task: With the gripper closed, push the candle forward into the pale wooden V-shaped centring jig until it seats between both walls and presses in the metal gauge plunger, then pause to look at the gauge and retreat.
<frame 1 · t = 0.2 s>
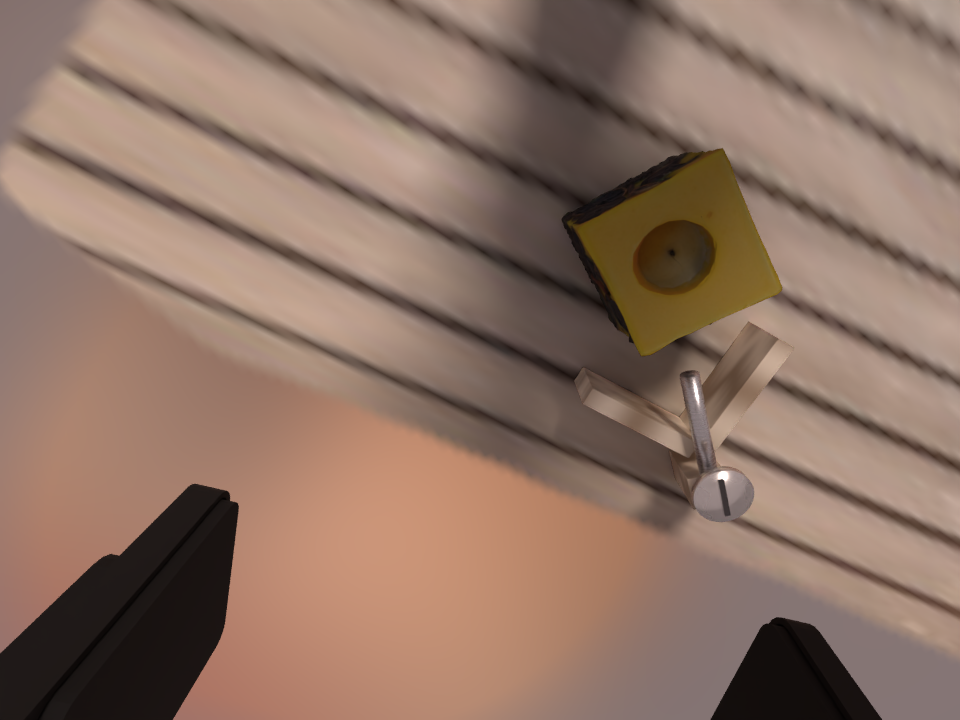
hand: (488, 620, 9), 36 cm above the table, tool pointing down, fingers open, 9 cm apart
centring jig: (679, 417, 47), on the table
candle: (642, 242, 43), on the table
gauge plunger: (707, 446, 40), point 7 cm above the table, slide at 0.0 cm
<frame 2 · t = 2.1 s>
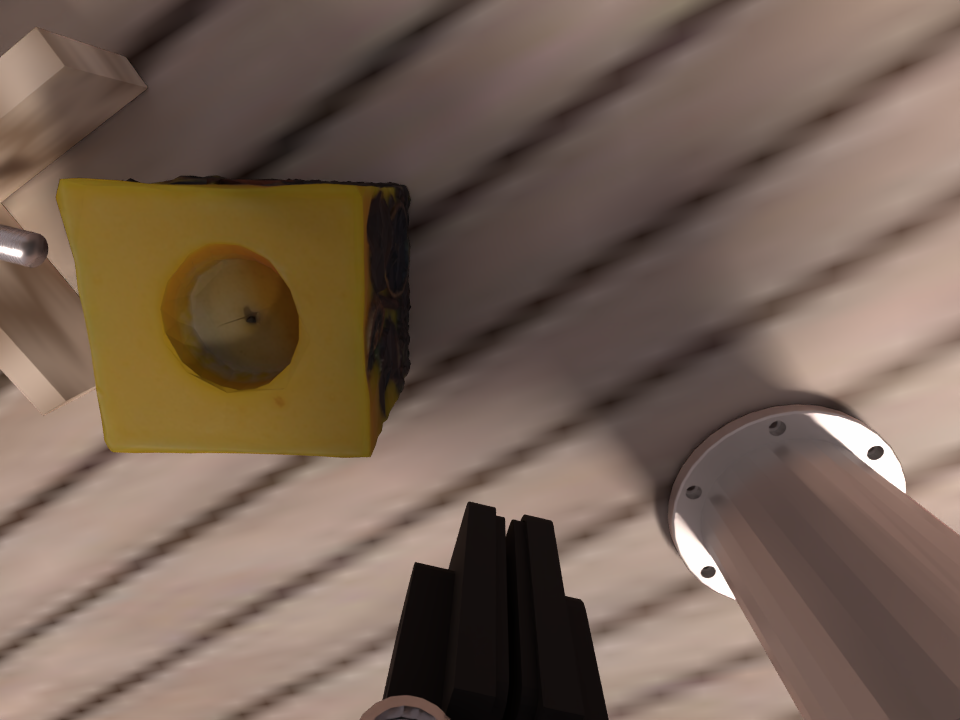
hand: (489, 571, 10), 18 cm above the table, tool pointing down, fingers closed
centring jig: (0, 202, 27), on the table
candle: (316, 280, 28), on the table
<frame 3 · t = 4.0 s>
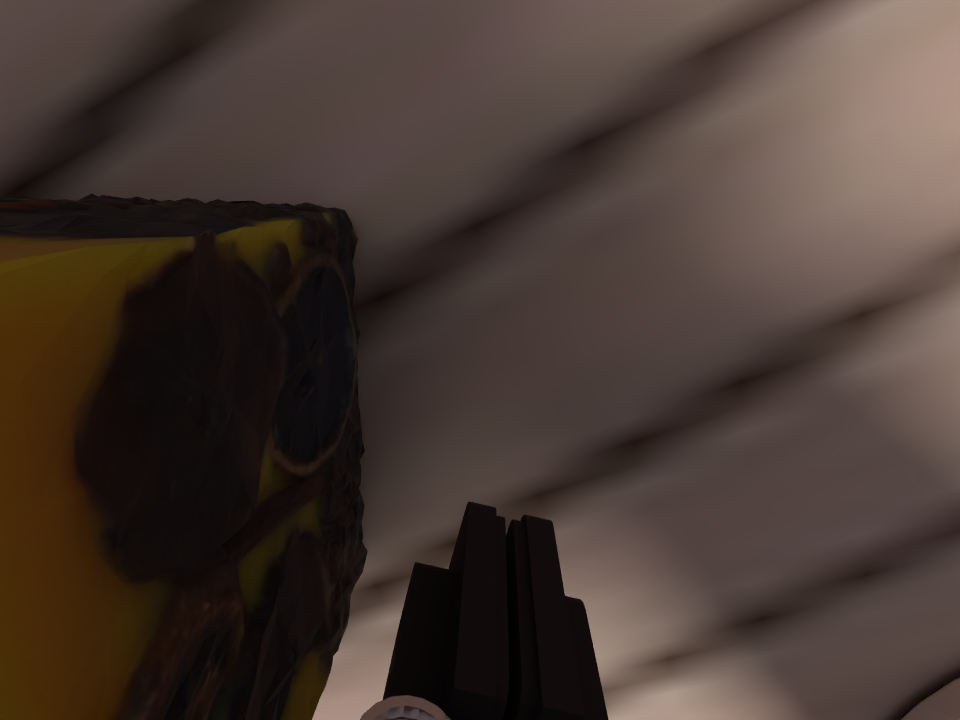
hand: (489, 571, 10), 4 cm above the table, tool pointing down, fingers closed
candle: (175, 396, 14), on the table, touching gripper
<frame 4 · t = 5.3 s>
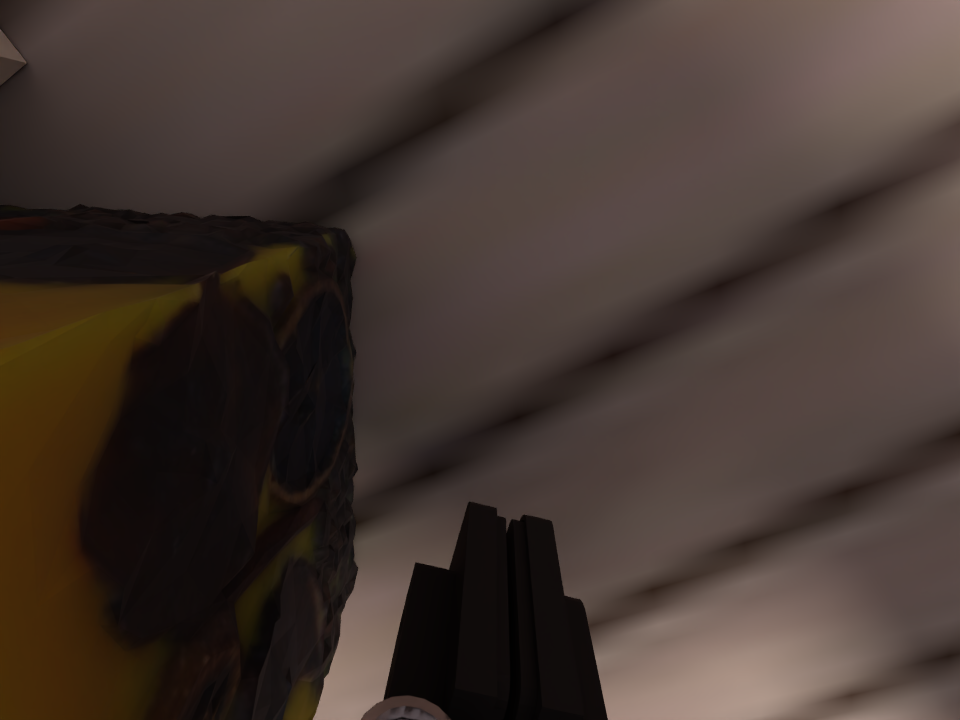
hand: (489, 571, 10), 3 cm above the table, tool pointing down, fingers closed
candle: (164, 410, 14), on the table, touching centring jig, gripper
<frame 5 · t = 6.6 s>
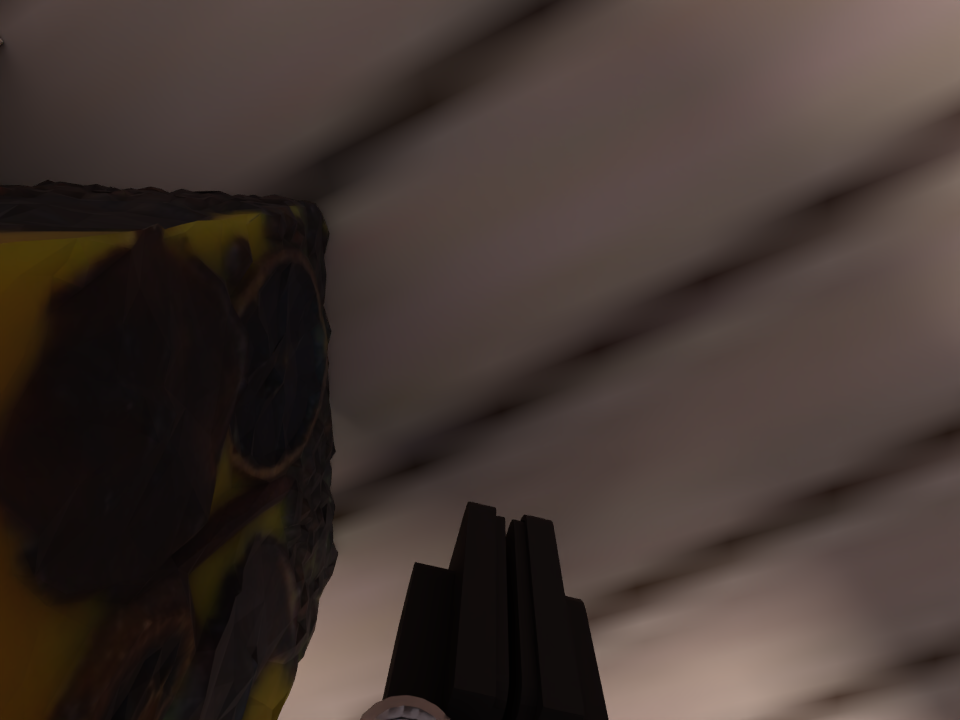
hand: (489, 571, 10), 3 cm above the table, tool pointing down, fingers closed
candle: (139, 392, 13), on the table
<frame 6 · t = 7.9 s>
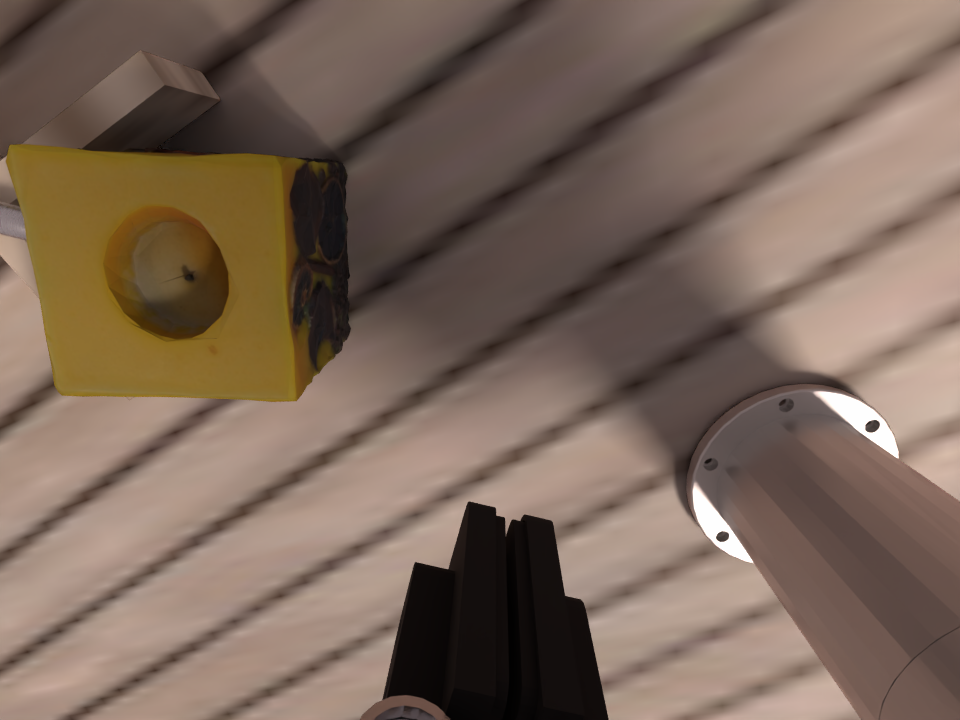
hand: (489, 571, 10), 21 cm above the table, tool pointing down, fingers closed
centring jig: (78, 205, 29), on the table
candle: (261, 250, 30), on the table
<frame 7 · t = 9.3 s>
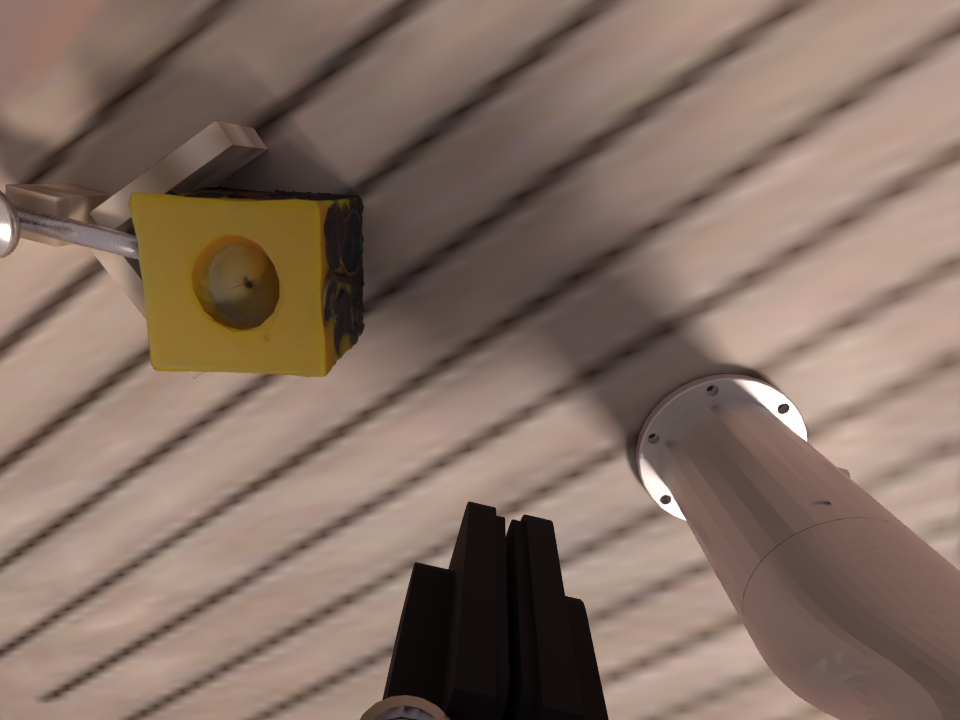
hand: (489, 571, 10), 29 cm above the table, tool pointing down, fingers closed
centring jig: (155, 227, 37), on the table
candle: (295, 263, 38), on the table
gauge plunger: (57, 233, 30), point 7 cm above the table, slide at 2.2 cm
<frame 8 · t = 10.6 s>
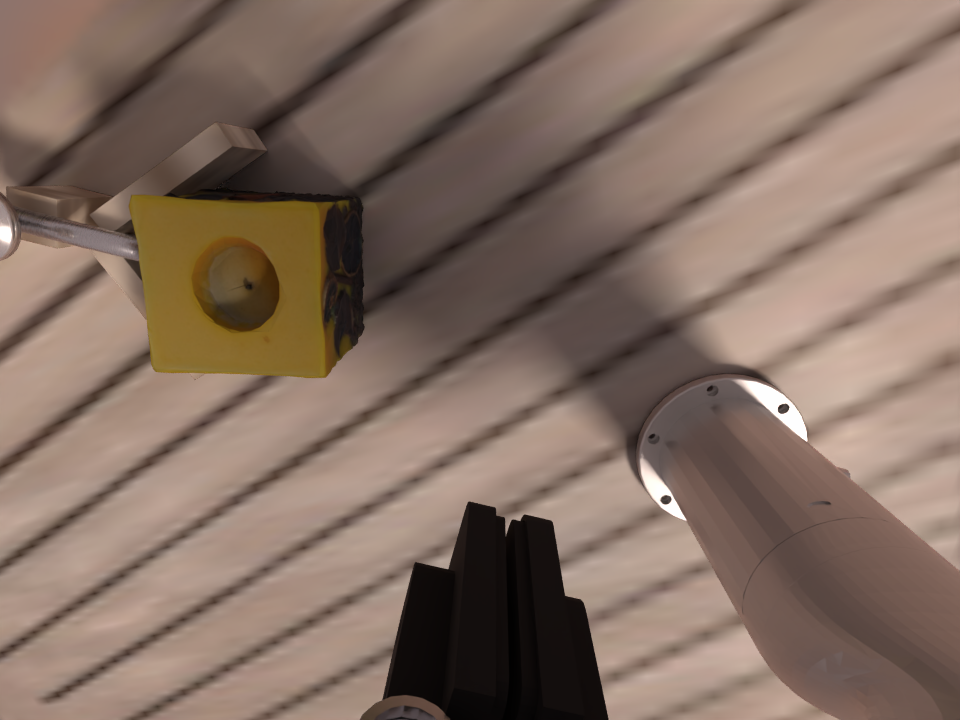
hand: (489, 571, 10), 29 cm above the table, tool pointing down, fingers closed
centring jig: (156, 229, 37), on the table
candle: (295, 264, 38), on the table
gauge plunger: (58, 235, 30), point 7 cm above the table, slide at 2.2 cm
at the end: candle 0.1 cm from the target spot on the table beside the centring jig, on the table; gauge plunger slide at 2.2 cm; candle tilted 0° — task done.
